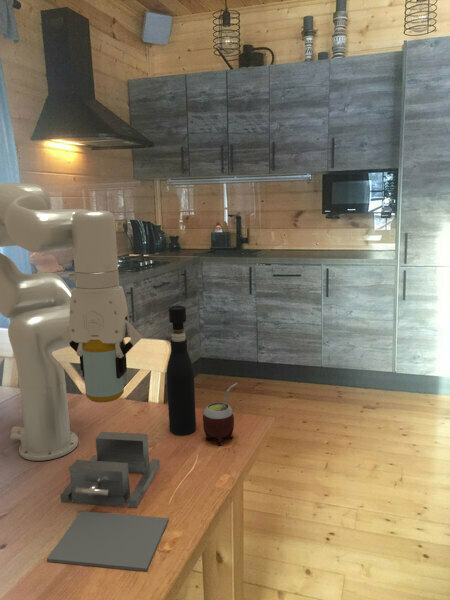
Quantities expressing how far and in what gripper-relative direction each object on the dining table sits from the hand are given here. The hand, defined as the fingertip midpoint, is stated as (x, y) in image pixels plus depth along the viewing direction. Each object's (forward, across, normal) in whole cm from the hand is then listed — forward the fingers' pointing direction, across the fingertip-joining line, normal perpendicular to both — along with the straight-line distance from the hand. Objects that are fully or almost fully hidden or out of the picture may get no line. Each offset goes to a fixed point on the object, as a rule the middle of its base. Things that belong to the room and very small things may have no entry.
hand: (104, 374), depth 93 cm
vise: (+22, 0, -2) cm, 22 cm away
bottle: (+5, 0, 0) cm, 5 cm away
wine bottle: (+23, +8, +24) cm, 34 cm away
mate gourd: (+23, +18, +20) cm, 35 cm away
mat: (+22, +6, -16) cm, 28 cm away
